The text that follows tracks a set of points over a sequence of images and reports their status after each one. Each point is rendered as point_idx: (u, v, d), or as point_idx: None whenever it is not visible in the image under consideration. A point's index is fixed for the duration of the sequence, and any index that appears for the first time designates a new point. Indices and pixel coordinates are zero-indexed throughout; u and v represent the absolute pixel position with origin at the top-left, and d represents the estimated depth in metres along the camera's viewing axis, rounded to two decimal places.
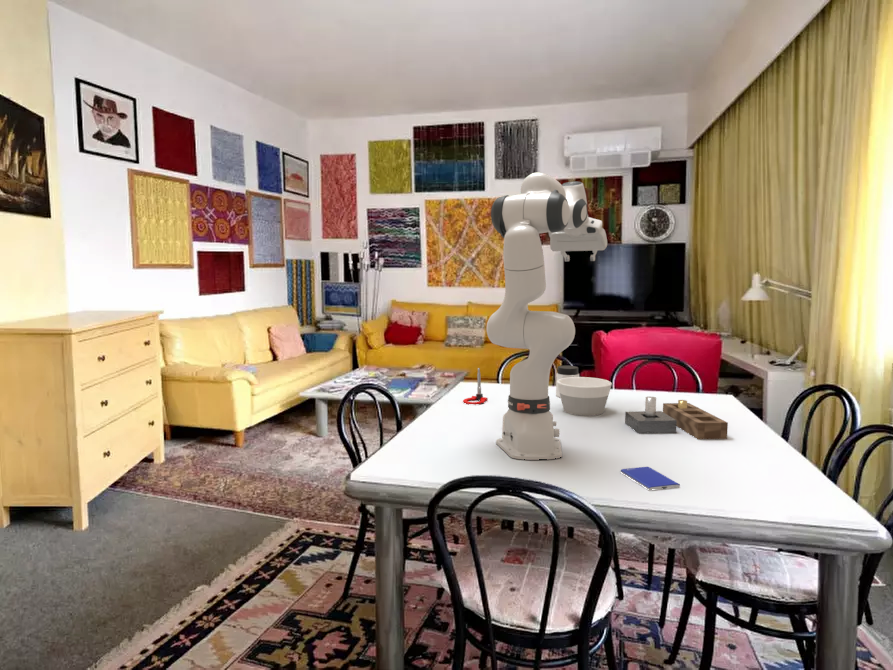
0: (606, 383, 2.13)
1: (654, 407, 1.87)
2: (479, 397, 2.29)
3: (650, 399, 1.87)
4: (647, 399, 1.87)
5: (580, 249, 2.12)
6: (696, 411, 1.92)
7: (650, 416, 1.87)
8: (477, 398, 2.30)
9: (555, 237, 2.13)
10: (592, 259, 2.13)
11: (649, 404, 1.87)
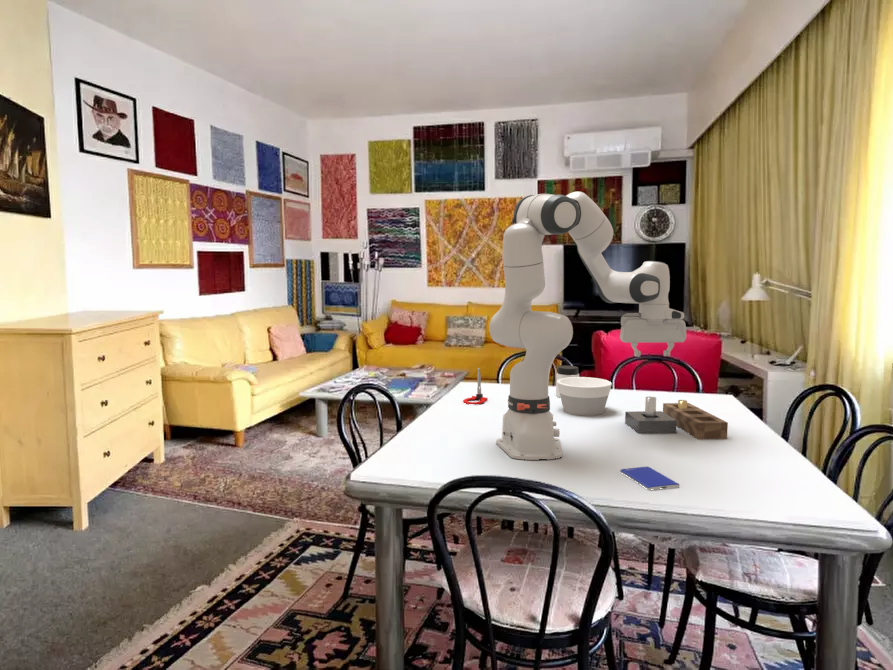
0: (606, 383, 2.13)
1: (654, 407, 1.87)
2: (479, 397, 2.29)
3: (650, 399, 1.87)
4: (647, 399, 1.87)
5: (658, 340, 1.85)
6: (696, 411, 1.92)
7: (650, 416, 1.87)
8: (477, 398, 2.30)
9: (631, 324, 1.84)
10: (668, 354, 1.86)
11: (649, 404, 1.87)
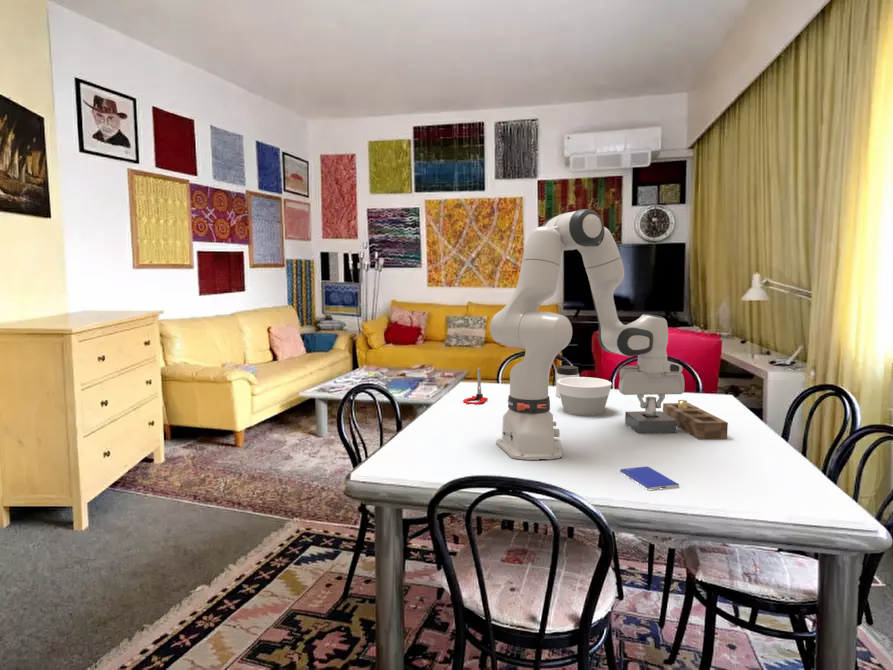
0: (606, 383, 2.13)
1: (654, 407, 1.87)
2: (479, 397, 2.29)
3: (650, 399, 1.87)
4: (647, 399, 1.87)
5: (656, 392, 1.86)
6: (696, 411, 1.92)
7: (650, 416, 1.87)
8: (477, 398, 2.30)
9: (630, 376, 1.85)
10: (658, 406, 1.88)
11: (649, 404, 1.87)
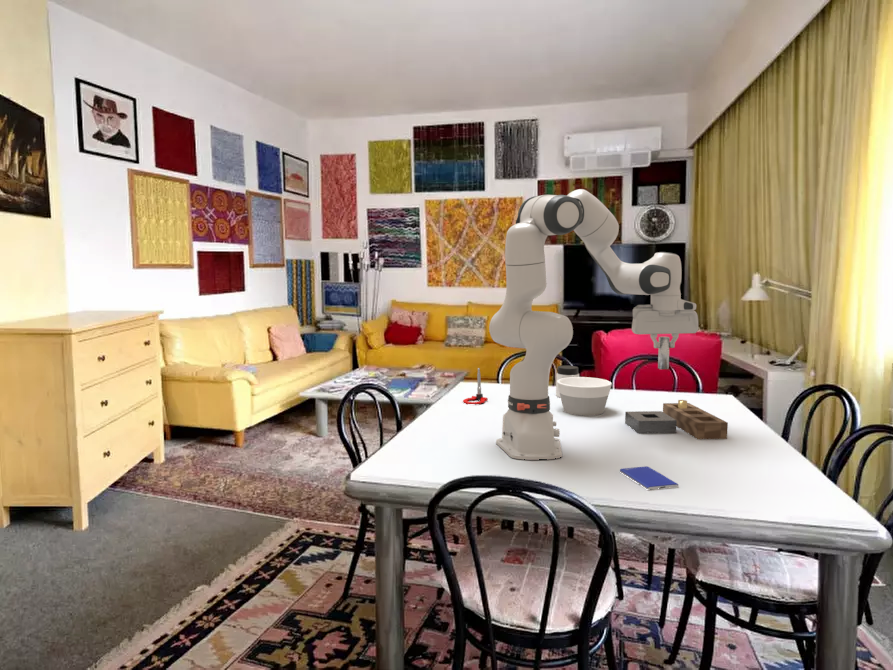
0: (606, 383, 2.13)
1: (667, 347, 1.85)
2: (479, 397, 2.29)
3: (663, 338, 1.85)
4: (660, 339, 1.86)
5: (670, 331, 1.84)
6: (696, 411, 1.92)
7: (664, 356, 1.85)
8: (477, 398, 2.30)
9: (643, 315, 1.83)
10: (672, 345, 1.86)
11: (663, 343, 1.85)
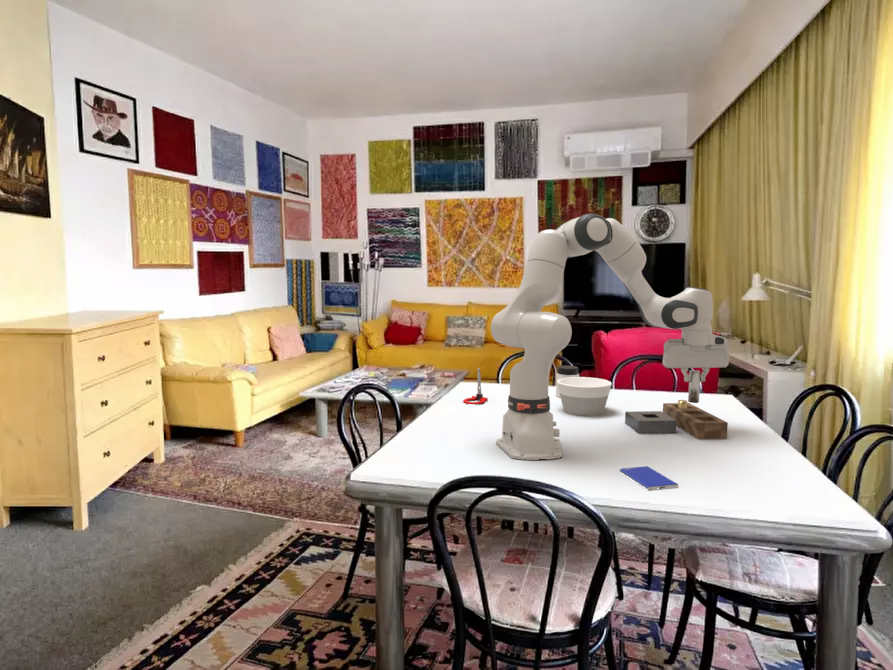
0: (606, 383, 2.13)
1: (698, 381, 1.87)
2: (479, 397, 2.29)
3: (694, 372, 1.87)
4: (691, 372, 1.87)
5: (701, 365, 1.86)
6: (696, 411, 1.92)
7: (694, 389, 1.87)
8: (477, 398, 2.30)
9: (675, 349, 1.85)
10: (703, 379, 1.88)
11: (694, 377, 1.87)
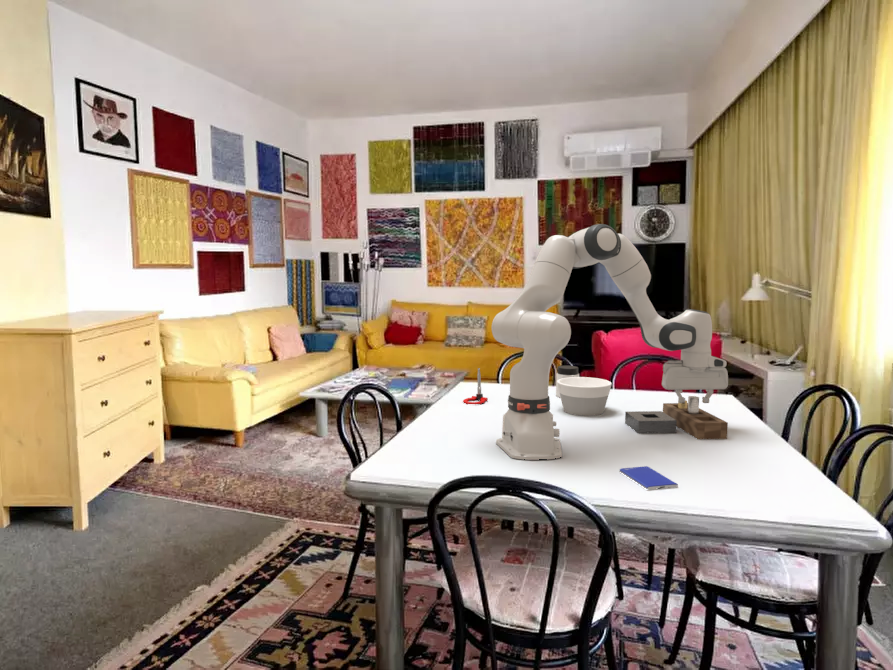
0: (606, 383, 2.13)
1: (697, 407, 1.88)
2: (479, 397, 2.29)
3: (693, 399, 1.87)
4: (690, 399, 1.88)
5: (700, 387, 1.87)
6: None
7: None
8: (477, 398, 2.30)
9: (674, 371, 1.86)
10: (707, 401, 1.88)
11: (692, 403, 1.88)
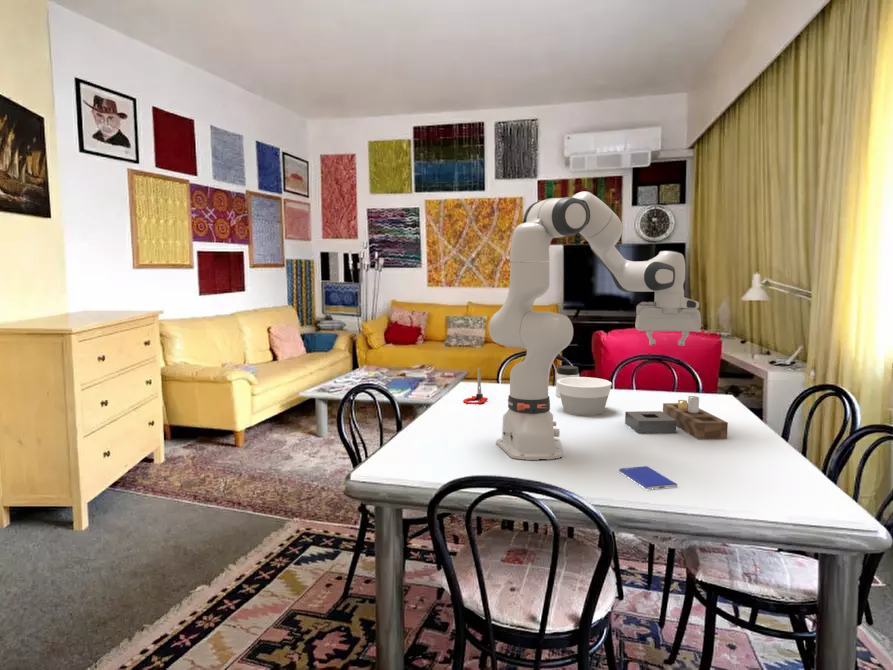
0: (606, 383, 2.13)
1: (697, 407, 1.88)
2: (479, 397, 2.29)
3: (693, 399, 1.87)
4: (690, 399, 1.88)
5: (673, 329, 1.88)
6: None
7: None
8: (477, 398, 2.30)
9: (647, 312, 1.87)
10: (682, 343, 1.89)
11: (692, 403, 1.88)
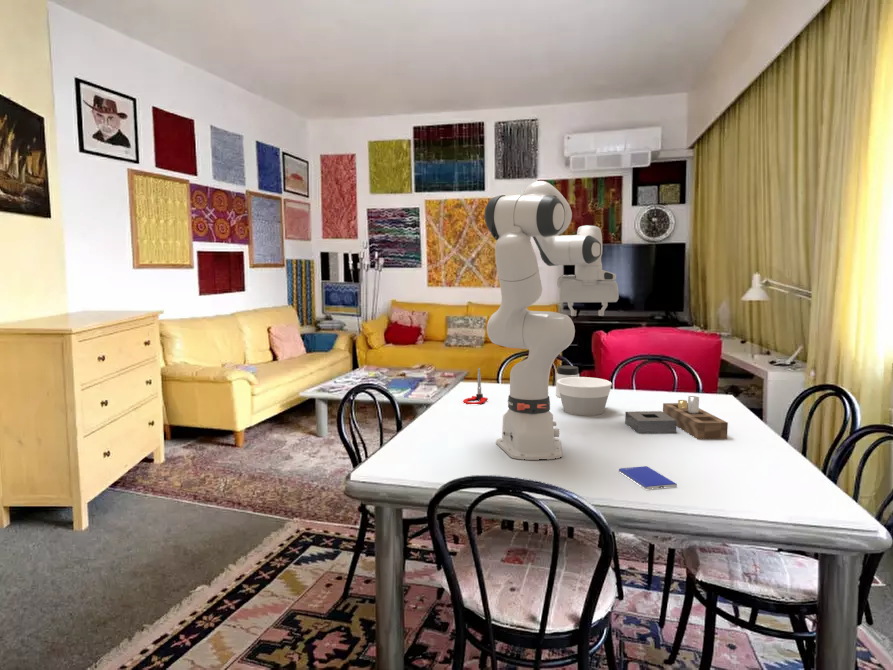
0: (606, 383, 2.13)
1: (697, 407, 1.88)
2: (479, 397, 2.29)
3: (693, 399, 1.87)
4: (690, 399, 1.88)
5: (592, 300, 1.97)
6: None
7: None
8: (477, 398, 2.30)
9: (567, 284, 1.96)
10: (602, 313, 1.99)
11: (692, 403, 1.88)
